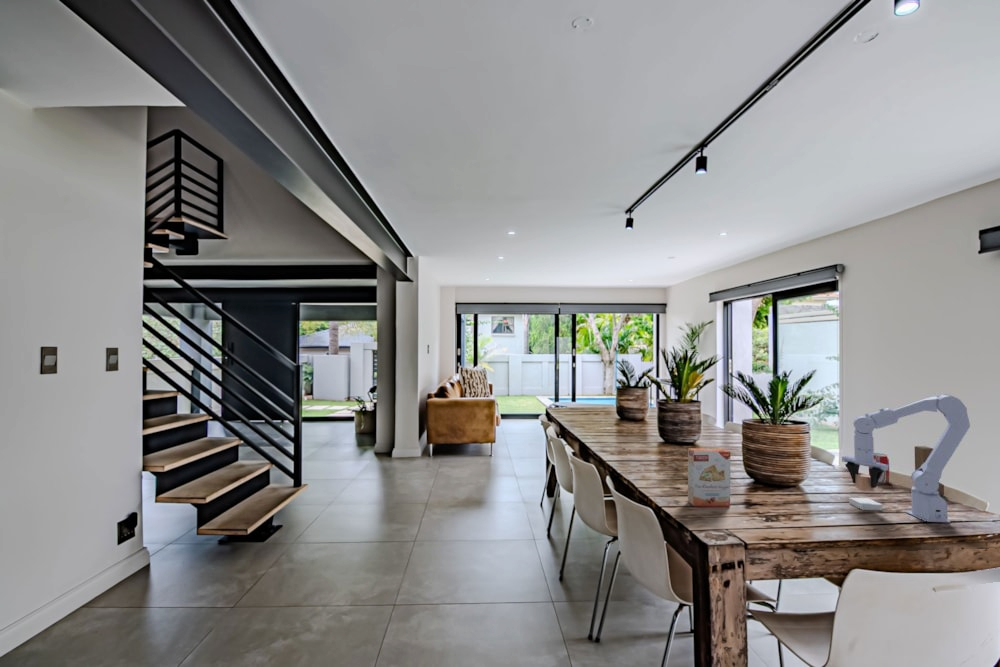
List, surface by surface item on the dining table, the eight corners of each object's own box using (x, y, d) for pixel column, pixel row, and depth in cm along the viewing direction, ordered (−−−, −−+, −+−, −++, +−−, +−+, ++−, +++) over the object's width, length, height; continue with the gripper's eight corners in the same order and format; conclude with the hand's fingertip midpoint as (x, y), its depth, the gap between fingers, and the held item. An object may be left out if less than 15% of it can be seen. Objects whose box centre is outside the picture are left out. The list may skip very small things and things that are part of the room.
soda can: (890, 484, 201) (889, 457, 201) (869, 481, 205) (868, 454, 206) (889, 481, 207) (888, 454, 207) (868, 478, 211) (868, 451, 211)
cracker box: (694, 507, 173) (693, 451, 173) (687, 501, 179) (687, 447, 180) (731, 507, 173) (730, 451, 173) (723, 501, 179) (723, 447, 179)
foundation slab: (882, 511, 170) (882, 504, 170) (861, 510, 171) (861, 504, 171) (868, 504, 177) (868, 498, 177) (849, 504, 178) (849, 497, 178)
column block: (873, 491, 171) (873, 477, 172) (862, 490, 172) (861, 477, 172) (867, 487, 175) (866, 474, 176) (855, 487, 176) (855, 474, 176)
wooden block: (944, 495, 186) (943, 451, 187) (932, 495, 187) (931, 450, 187) (926, 488, 195) (925, 446, 196) (914, 488, 196) (913, 445, 196)
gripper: (892, 451, 169) (893, 489, 169) (849, 444, 182) (849, 478, 182) (881, 453, 166) (882, 491, 166) (838, 445, 179) (838, 480, 179)
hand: (864, 485), depth 174 cm, fingers closed on column block, 5 cm apart
